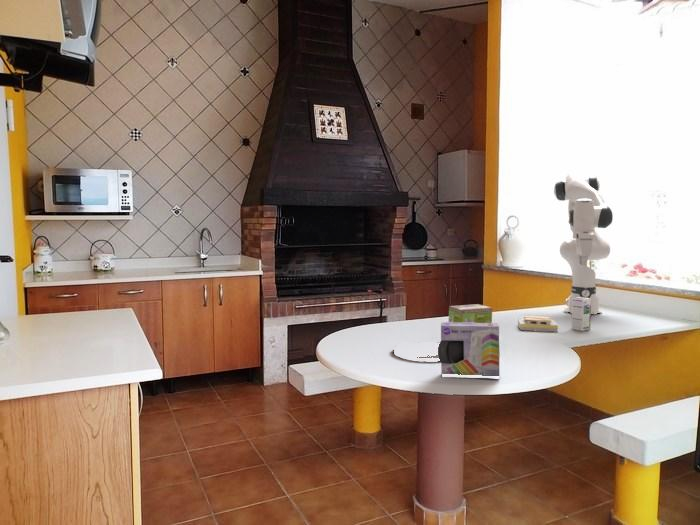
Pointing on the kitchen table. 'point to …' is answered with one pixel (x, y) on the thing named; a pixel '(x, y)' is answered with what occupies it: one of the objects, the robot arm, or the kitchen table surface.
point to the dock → (538, 326)
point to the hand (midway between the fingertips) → (582, 265)
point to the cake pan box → (469, 348)
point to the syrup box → (581, 313)
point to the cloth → (537, 319)
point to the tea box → (470, 313)
